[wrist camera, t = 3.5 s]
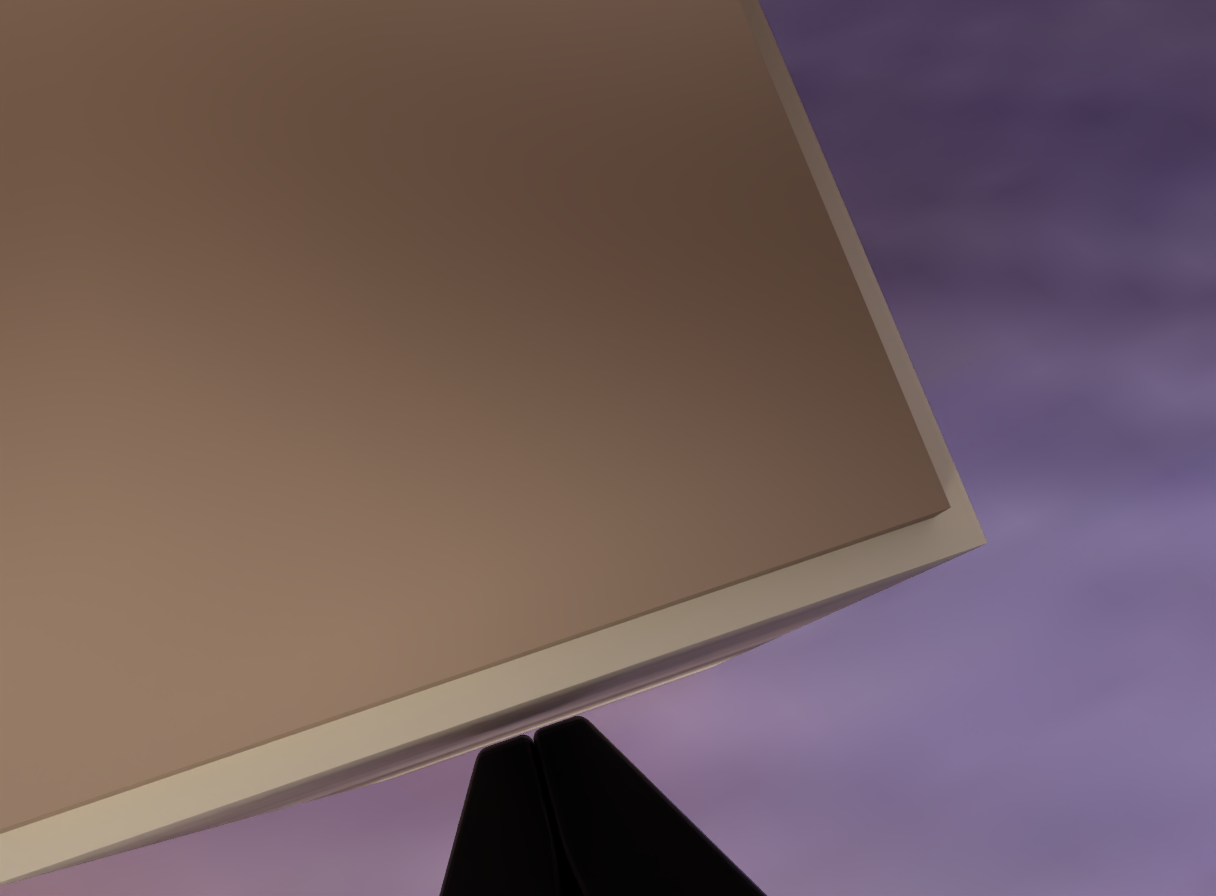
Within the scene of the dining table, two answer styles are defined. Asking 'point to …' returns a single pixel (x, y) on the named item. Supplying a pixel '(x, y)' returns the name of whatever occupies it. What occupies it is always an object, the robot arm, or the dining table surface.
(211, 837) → the dining table surface
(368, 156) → the block
